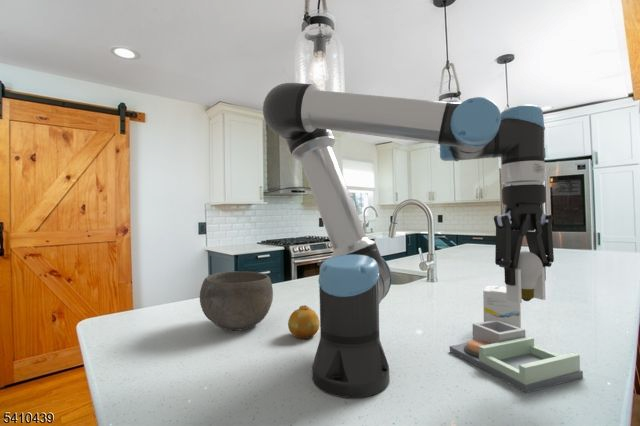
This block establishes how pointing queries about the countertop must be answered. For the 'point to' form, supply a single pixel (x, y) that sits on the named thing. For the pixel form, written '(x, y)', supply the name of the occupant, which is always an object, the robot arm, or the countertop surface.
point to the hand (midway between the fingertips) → (526, 299)
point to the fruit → (303, 322)
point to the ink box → (500, 306)
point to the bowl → (236, 298)
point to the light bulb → (529, 273)
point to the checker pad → (475, 345)
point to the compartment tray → (518, 357)
